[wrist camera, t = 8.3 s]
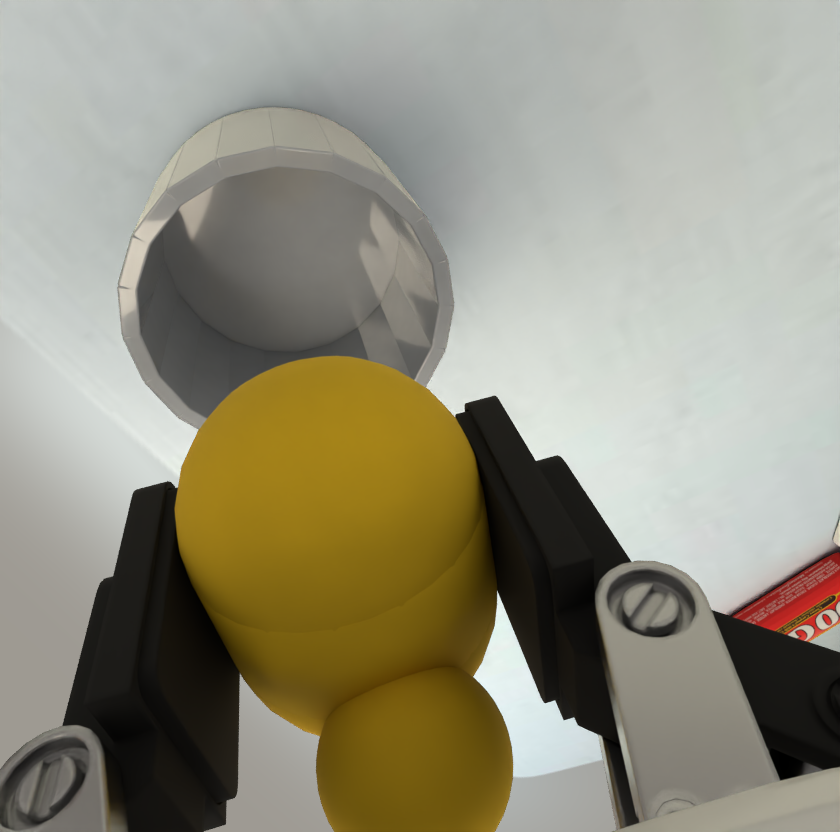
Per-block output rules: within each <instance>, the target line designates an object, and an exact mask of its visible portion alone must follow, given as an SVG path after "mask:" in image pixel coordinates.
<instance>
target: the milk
mask: <svg viewBox="0 0 840 832" xmlns="http://www.w3.org/2000/svg"><path fill="white" fill-rule="evenodd" d="M833 541H834V542H835V543H836V544H837V545H838V546H839V547H840V520H839V523H838V526H837V529H836V532H835V535H834V538H833Z"/></svg>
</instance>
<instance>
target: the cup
mask: <svg viewBox="0 0 840 832" xmlns="http://www.w3.org/2000/svg"><path fill="white" fill-rule="evenodd" d="M117 289H118V300H119V310H120V321H121V331H122V336H123V340H124V342H125V344H126V346H127V348H128V350H129V352H130V354H131V357H132V359H133V361H134V363H135V365H136V367H137V369H138V371H139V373H140V376H141V378H142V380H143V381H144V382H145V384H146V385H147V386H148V387H149V388H150V389H151V390H152V391H153V392H154V393H155V394H156V395H157V396H158V397H159V399H160V400H161V401H162V402H163V403H164V404H165V405H166V406H167V407H168V408H169V409H170V410H171V411H172V412H173V413H174V414H175V415H176V416H178V418H179V419H181V420H183V421H185V422H186V423H188V424H190V425H192V426H193V427H195V428H197V429H200V428H201V426H202V425H203V424H204V422H205V421H206V419H207V418H208V417H209V416H210V415H211V413H212V412H213V411H214V410H215V409H216V408H217V407H218V406H219V404H220V403H221V402H222V401H223V400H224V399H225V398H226V397H227V396H228V395H229V394H230V393H231V392H233V391H234V390H235V389H237V388H238V387H239V386H241V385H242V384H244V383H245V382H247V381H249V380H250V379H252V378H254V377H256V376H257V375H259V374H261V373H264V372H266V371H268V370H270V369H272V368H275V367H277V366H280V365H283V364H285V363H288V362H292V361H297V360H301V359H308V358H314V357H322V356H348V357H355V358H360V359H364V360H368V361H372V362H376V363H379V364H383V365H386V366H388V367H391V368H393V369H396V370H398V371H400V372H401V373H403V374H405V375H406V376H408V377H410V378H411V379H413V380H415V381H416V382H418V383H419V384H421V385H422V386H424V387H426V386H427V384H428V382H429V380H430V378H431V376H432V375H433V373H434V371H435V369H436V367H437V365H438V363H439V362H440V360H441V358H442V356H443V354H444V352H445V349H446V347H447V342H448V337H449V331H450V326H451V320H452V315H453V310H454V298H453V291H452V284H451V277H450V270H449V263H448V259H447V256H446V254H445V252H444V250H443V248H442V246H441V244H440V242H439V240H438V238H437V236H436V234H435V232H434V230H433V228H432V227H431V225H430V223H429V221H428V219H427V217H426V215H425V214H424V213H423V211H422V210H421V209H420V207H419V206H418V205H417V203H416V202H415V201H414V200H413V198H412V197H411V196H410V194H409V193H408V192H407V191H406V189H405V188H404V187H403V186H402V184H401V183H400V182H399V180H398V179H397V178H396V177H395V175H394V174H393V173H392V171H391V170H390V169H389V168H388V166H387V165H386V164H385V163H384V162H383V161H382V160H381V159H380V158H379V157H378V156H377V155H376V154H375V153H374V152H373V151H372V150H371V149H370V147H369V146H368V145H367V144H366V143H365V142H363V141H362V140H361V139H360V138H359V137H358V136H357V135H355V134H354V133H353V132H351V131H349V130H348V129H346V128H344V127H343V126H341V125H339V124H338V123H336V122H334V121H332V120H329V119H327V118H325V117H323V116H320V115H317V114H314V113H310V112H307V111H304V110H299V109H292V108H285V107H262V108H255V109H247V110H243V111H240V112H236V113H233V114H229V115H227V116H225V117H222V118H220V119H218V120H216V121H214V122H211V123H210V124H208V125H207V126H205V127H204V128H202V129H201V130H199V131H198V132H196V133H195V134H194V135H193V136H192V137H191V138H189V139H188V140H187V141H186V142H185V143H184V144H183V145H182V146H181V147H180V148H179V150H178V151H177V152H176V153H175V154H174V156H173V157H172V158H171V160H170V161H169V163H168V165H167V166H166V168H165V169H164V170H163V172H162V173H161V174H160V176H159V178H158V180H157V182H156V184H155V186H154V188H153V191H152V193H151V195H150V197H149V199H148V201H147V203H146V206H145V208H144V210H143V212H142V214H141V216H140V218H139V221H138V223H137V225H136V227H135V229H134V231H133V233H132V236H131V239H130V242H129V246H128V249H127V253H126V256H125V260H124V263H123V267H122V270H121V274H120V277H119V281H118V288H117Z"/></svg>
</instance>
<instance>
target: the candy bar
mask: <svg viewBox="0 0 840 832" xmlns="http://www.w3.org/2000/svg"><path fill="white" fill-rule="evenodd" d="M732 617H734V618H737V619H740V620H743V621H746V622H749V623H752V624H755V625H758V626H761V627H764V628H767V629H770V630H773V631H776V632H779V633H782V634H785V635H789V636H792V637H795V638H798V639H801V640H804V641H807V642H809V641H811V640H813V639H814V638H816V637H818V636H819V635H821V634H823V633H824V632H826V631H827V630H829V629H831V628H832V627H834V626H836V625H837V624H839V623H840V553H834V554H832V555H830V556H828V557H826V558H824V559H822V560H821V561H819V562H817V563H816V564H814V565H812V566H811V567H809V568H807V569H806V570H804V571H803V572H801V573H799V574H798V575H796V576H795V577H793V578H791V579H790V580H788V581H787V582H785V583H784V584H782V585H780V586H779V587H777V588H776V589H774V590H773V591H771V592H769V593H768V594H766V595H765V596H763V597H762V598H760V599H758V600H757V601H755V602H754V603H752V604H750V605H749V606H747V607H746V608H744V609H743V610H741V611H739V612H738V613H736V614H735V615H733V616H732Z"/></svg>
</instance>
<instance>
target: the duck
mask: <svg viewBox="0 0 840 832" xmlns="http://www.w3.org/2000/svg"><path fill="white" fill-rule="evenodd" d="M175 520H176V531H177V539H178V545H179V552H180V555H181V558H182V561H183V563H184V566H185V569H186V571H187V574H188V577H189V579H190V582H191V584H192V586H193V588H194V589H195V591H196V593H197V595H198V597H199V599H200V601H201V602H202V604H203V606H204V608H205V610H206V612H207V613H208V615H209V617H210V619H211V621H212V623H213V624H214V626H215V628H216V630H217V632H218V634H219V636H220V637H221V639H222V641H223V643H224V645H225V647H226V648H227V650H228V652H229V654H230V656H231V658H232V659H233V661H234V663H235V665H236V667H237V669H238V670H239V672H240V674H241V675H242V677H243V679H244V680H245V682H246V683H247V684H248V685H249V687H250V688H251V689H252V691H253V692H254V693H255V694H256V695H257V697H258V698H259V699H260V700H261V701H262V702H263V703H264V704H265V705H266V706H267V707H268V708H269V709H270V710H271V711H272V712H274V713H276V714H277V715H279V716H280V717H282V718H284V719H285V720H287V721H289V722H290V723H292V724H294V725H295V726H297V727H298V728H300V729H302V730H303V731H306V732H309V733H312V734H315V735H318V736H320V739H319V744H318V750H317V759H316V774H317V784H318V791H319V796H320V800H321V804H322V806H323V809H324V812H325V814H326V817H327V819H328V822H329V823H330V825H331V827H332V829H333V830H334V832H495V831H496V829H497V827H498V825H499V823H500V821H501V819H502V817H503V815H504V812H505V810H506V806H507V803H508V800H509V797H510V791H511V786H512V780H513V756H512V746H511V742H510V737H509V733H508V730H507V727H506V724H505V722H504V719H503V716H502V714H501V713H500V711H499V709H498V707H497V705H496V704H495V702H494V700H493V699H492V697H491V696H490V695H489V693H488V692H487V691H486V690H485V689H484V687H483V686H482V685H481V684H480V683H479V682H478V681H477V680H476V679H475V678H473V676H474V674H475V673H476V671H477V669H478V668H479V666H480V665H481V663H482V661H483V658H484V655H485V652H486V649H487V646H488V644H489V641H490V638H491V635H492V632H493V629H494V626H495V617H496V608H497V580H496V572H495V565H494V558H493V552H492V545H491V538H490V531H489V524H488V517H487V511H486V504H485V497H484V490H483V485H482V482H481V478H480V473H479V469H478V465H477V461H476V457H475V454H474V452H473V449H472V447H471V445H470V443H469V441H468V439H467V437H466V435H465V433H464V432H463V430H462V428H461V427H460V425H459V423H458V421H457V420H456V418H455V417H454V416H453V415H452V414H451V412H450V411H449V410H448V409H447V408H446V407H445V406H444V405H443V404H442V403H441V402H440V401H439V400H438V399H437V398H436V397H435V396H434V395H433V394H432V393H431V392H430V391H429V390H428V389H427V388H425V387H424V386H422V385H421V384H419V383H418V382H416V381H415V380H413V379H411V378H410V377H408V376H406V375H405V374H403V373H401V372H400V371H398V370H396V369H393V368H391V367H388V366H386V365H383V364H379V363H376V362H372V361H368V360H364V359H360V358H355V357H348V356H322V357H314V358H308V359H301V360H297V361H292V362H288V363H285V364H283V365H280V366H277V367H275V368H272V369H270V370H268V371H266V372H264V373H261V374H259V375H257V376H256V377H254V378H252V379H250V380H249V381H247V382H245V383H244V384H242V385H241V386H239V387H238V388H237V389H235V390H234V391H233V392H231V393H230V394H229V395H228V396H227V397H226V398H225V399H224V400H223V401H222V402H221V403H220V404H219V406H218V407H217V408H216V409H215V410H214V411H213V412H212V413H211V415H210V416H209V417H208V418H207V419H206V421H205V422H204V424H203V425H202V426H201V428H200V429H199V430H198V432H197V435H196V437H195V439H194V441H193V443H192V445H191V447H190V449H189V452H188V454H187V456H186V458H185V460H184V463H183V465H182V468H181V473H180V479H179V485H178V490H177V497H176V503H175Z"/></svg>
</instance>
